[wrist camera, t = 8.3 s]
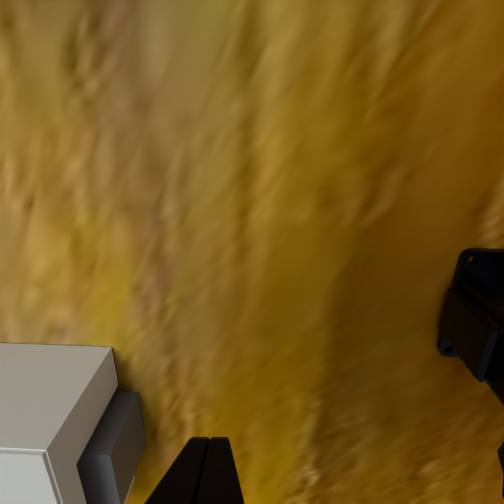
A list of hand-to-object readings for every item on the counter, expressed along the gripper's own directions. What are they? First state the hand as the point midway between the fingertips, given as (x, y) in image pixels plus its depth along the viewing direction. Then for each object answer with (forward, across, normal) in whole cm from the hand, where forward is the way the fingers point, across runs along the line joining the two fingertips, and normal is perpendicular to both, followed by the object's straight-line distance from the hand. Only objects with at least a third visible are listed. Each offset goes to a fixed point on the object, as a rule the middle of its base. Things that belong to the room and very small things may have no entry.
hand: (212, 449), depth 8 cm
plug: (+12, +10, +12) cm, 20 cm away
